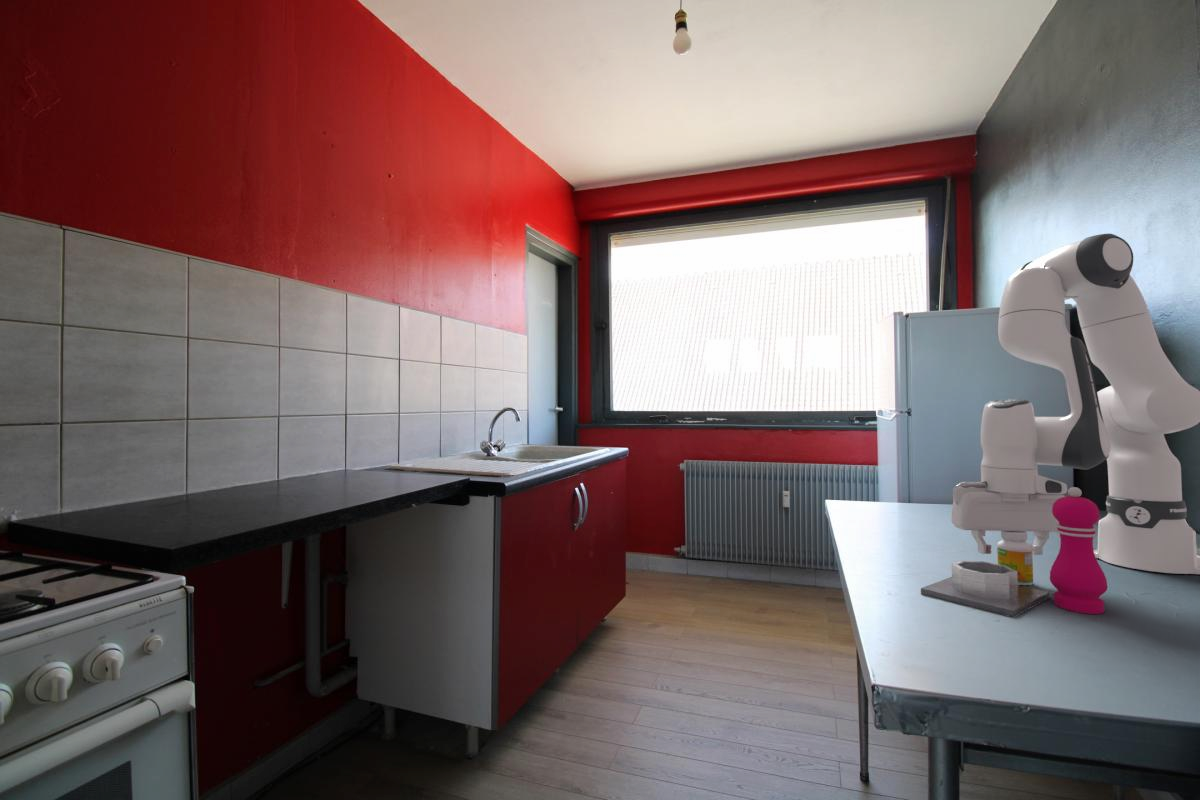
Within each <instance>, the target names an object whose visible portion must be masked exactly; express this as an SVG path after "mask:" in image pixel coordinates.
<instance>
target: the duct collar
mask: <svg viewBox="0 0 1200 800" xmlns="http://www.w3.org/2000/svg"><path fill="white" fill-rule="evenodd" d="M1050 593H1051V592H1050V591H1047V590H1042V589H1039V588H1038V589H1037V588H1031V587H1028V586H1020V585H1018V579H1017V571H1015V570H1013V569H1011V568H1009V567H1007V566H1004V565H999V564H998V563H995V562H988V561H984V560H983V561H982V560H981V561H980V560H958V561H956V562H953V563H951V577H950V576H949V577H948V578H944V579H942V580H939V581H936V582H933V583H932V584H931V583H930V584H929V585H925V586H923V587H921V588H920V595H925V596H926V597H927V596H928V597H932V598H935V599H941V600H943V601H946V602H947V601H949V602H951V603H955V604H960V605H965V606H968V607H971V608H974V609H975V608H976V609H979V610H984V611H988V612H992V613H995V614H999V615H1004V616H1007V617H1011V618H1015V617H1017V616H1018V614H1019V615H1020V614H1022V613H1024V612H1025V610H1026V611H1027V609H1028V608H1030V607H1032V606H1033V607H1035V606H1037V605H1039V604H1040V603H1039V602H1041V601H1043V600H1045V599H1046V600H1048V599H1050V598H1051V597H1050V596H1051V595H1050ZM1049 597H1050V598H1049ZM1047 598H1048V599H1047ZM1046 600H1045V601H1046ZM1043 602H1044V601H1043ZM1038 603H1039V604H1038ZM1041 603H1042V602H1041ZM1036 604H1037V605H1036ZM1034 605H1035V606H1034ZM1033 607H1032V608H1033ZM1030 609H1031V608H1030ZM1028 610H1029V609H1028ZM1023 611H1024V612H1023ZM1021 612H1022V613H1021ZM1016 615H1017V616H1016ZM1014 616H1015V617H1014Z"/></svg>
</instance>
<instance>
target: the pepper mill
mask: <svg viewBox="0 0 1200 800" xmlns="http://www.w3.org/2000/svg"><path fill="white" fill-rule="evenodd" d="M1082 494H1083V493H1082V490H1081V489H1080V488H1079V487H1075V486H1071V487H1070V488H1067V496H1066V495H1065V497H1062V498H1059V499H1058V500H1056V501H1055V502H1054V504H1053V507H1052V514H1053V516H1054V517H1055V518H1056V519H1057V520H1058V522H1059V524H1057V525H1056V526H1057V527H1058V528H1057V529H1058V530H1057V532H1056V533H1058V534H1059V539H1060V546H1059V547H1060V548H1059V550H1058V551H1059V552H1058V554H1057V556H1056V558H1055V560H1054V562H1053V564H1052V566H1051V568H1050V571H1049V581H1050V583H1051V585H1052V586H1053V587H1054V588H1055V589H1056V590H1057V591H1056V592H1054V594H1053V601H1054V605H1055V604H1056V605H1055V606H1057V607H1058V606H1059V607H1058V608H1060V607H1061V609H1063V608H1064V610H1066V609H1067V610H1066V611H1069V610H1070V612H1074V611H1075V612H1074V613H1079V612H1080V613H1079V614H1086V613H1088V615H1099V614H1100V615H1101V614H1103V613H1104V612H1105V600H1103V599H1102V598H1101V597H1102V595H1104V594H1105V593H1106V592H1107V591H1108V581H1107V577H1106V576H1105V573H1104V571H1103V569H1102V568H1101V565H1100V564H1099V562H1098V560H1097V558H1096V557H1095V554H1094V550H1095V549H1094V537H1097V534H1096V531H1097V528H1096V527H1094V525H1095V524H1096V523H1097V522H1099V520H1100V517H1101V515H1100V509H1099V507H1098V505H1097V504H1096V503H1095V502H1093V501H1092V500H1090V499H1089V498H1085V497H1082Z"/></svg>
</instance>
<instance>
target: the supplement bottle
mask: <svg viewBox="0 0 1200 800" xmlns="http://www.w3.org/2000/svg"><path fill="white" fill-rule="evenodd" d="M1000 533H1001V534H1000V536H1001V538H1002V540H1000V541H998V542H997V544H996V545H997V549H996V550H997V552H996V553H997V564H999V565H1004V566H1007V567H1009V568H1011V569H1013V570H1015V571H1017V579H1018V585H1019V586H1020V585H1029V586H1032V585H1033V584H1034V564H1033V554H1032V547H1031V545H1030V544H1031V543H1028V542H1026V541H1028V531H1000Z"/></svg>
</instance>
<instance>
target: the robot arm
mask: <svg viewBox="0 0 1200 800" xmlns="http://www.w3.org/2000/svg"><path fill="white" fill-rule="evenodd" d="M1133 265H1134V253H1133V250H1132V248H1131V246H1130V244H1129V243H1128V241H1126V240H1125V239H1124V238H1122V237H1120V236H1118V235H1116V234H1113V233H1100V234H1094V235H1091V236H1088V237H1085V238H1084V239H1082V240H1079V241H1075V242H1073V243H1070V244H1066V245H1064V246H1061V247H1058V248H1056V249H1054V250H1052V251H1051V252H1049V253H1047V254H1044V255H1043V256H1041V257H1039V258H1036V259H1035V260H1031V261H1028V262H1027V263H1025V264H1023V265H1022V266H1021V267H1019V268H1018V269H1017V270H1016V271H1014V273H1013V274H1012V275H1011V276H1010V277H1009V278H1008V279H1007V281H1006V284H1005V286H1004V289H1003V293H1002V296H1001V302H1000V305H999V311H998V312H999V313H998V321H997V322H998V324H997V326H998V327H997V334H998V341H999V344H1000V346H1001V347H1002V349H1004V350H1005V351H1006V352H1007V353H1008V354H1010V355H1011V356H1012V357H1013V356H1014V357H1015V358H1018V359H1020V360H1022V361H1025V362H1029V363H1031V364H1032V363H1033V364H1036V365H1041V366H1046V367H1048V368H1053V369H1055V370H1057V371H1059V372H1061V373H1062V374H1063V375H1062V376H1063V377H1064V380H1065V381H1064V382H1065V386H1066V391H1067V395H1068V402H1069V406H1070V413H1069V414H1068V415H1065V416H1035V411H1034V407H1033V403H1032V402H1031V401H1030V400H1026V399H1023V398H1022V399H1021V398H1004V399H994V400H991V401H988V402H986V403H985V404H984V407H983V411H982V417H981V423H980V446H981V449H982V460H981V463H980V481H962V482H960V483H958V484H957V485H955V486H954V487H953V489H952V499H953V501H952V502H953V503H952V507H951V523H952V525H953V526H954V527H955V528H957V529H960V530H961V531H971V532H970V534H971V536H972V537H973V539H974V540H975V542H976V543H977V552H978V553H979V554H981V555H990V554H991V555H992V545H991V544H990V543H989V544H988V543H987V542H986V540H985V539H984V537H986V531H987V532H989V531H990V532H993V531H994V532H997V531H999V532H1001V531H1025V532H1033V533H1032V534H1033V535H1034V536H1035V538H1034V540H1033V542H1032V543H1029V544H1030V545H1031V547H1032V556H1042V555H1043V554H1044V551H1043V550H1044V549H1043V547H1044V546H1045V544H1046V543H1047V542H1048V540H1049V539H1050V533H1058V532H1057V530H1058V529H1057V528H1058V527H1057V526H1056V525H1057V524H1059V522H1058V520H1057V519H1056V518H1055V517H1054V516H1053V514H1052V507H1053V504H1054V502H1055V501H1056V500H1058V499H1059V498H1062V497H1066V495H1064V494H1067V493H1068V485H1067V483H1065V482H1062V481H1060V480H1056V479H1052V478H1049V477H1046V476H1043V475H1040V474H1039V471H1038V465H1039V466H1040V465H1043V466H1056V467H1057V466H1059V467H1064V468H1072V469H1079V470H1084V471H1085V470H1087V471H1088V470H1090V469H1092V468H1094V467H1097V466H1098V465H1100V464H1102V463H1104V462H1106V464H1107V475H1108V476H1107V478H1108V495H1106V501H1105V505H1106V512H1107V515H1105V516H1104V517H1102V518H1101V519H1099V520H1098V521H1097V522H1098V524H1097V525H1098V526H1097V527H1098V528H1097V549H1093V550H1094V554H1095V557H1096V559H1098V558H1099V560H1102V561H1104V562H1106V563H1109V564H1111V565H1112V564H1113V565H1116V566H1120V567H1125V568H1128V569H1133V570H1135V569H1136V570H1141V571H1147V572H1156V573H1163V574H1164V573H1165V574H1175V575H1177V574H1178V575H1179V574H1180V575H1182V574H1184V575H1189V574H1191V575H1200V548H1198V547H1197V533H1196V531H1195V530H1194V529H1193V528H1192V527H1191V526H1190V525H1189V524H1188V523H1187V521H1186V519H1187V517H1188V515H1187V511H1188V510H1187V506H1186V501H1185V500H1183V489H1182V487H1183V484H1182V482H1183V481H1182V466H1181V462H1180V461H1179V459H1178V458H1177V457H1176V456H1175V455H1174V454H1173V453H1172V451H1171V449H1170V448H1169V445H1168V443H1167V440H1166V437H1165V435H1166V434H1173V433H1176V432H1181V431H1184V430H1188V429H1190V428H1193V427H1195V426H1197V425H1199V423H1200V390H1199V389H1197V388H1196V387H1194V386H1192V385H1191V384H1190V383H1188V382H1187V381H1186V380H1185V379H1184V378H1183V377H1182V376H1181V374H1180V373H1179V372H1178V371H1177V370H1176V368H1175V367H1174V365H1173V364H1172V362H1171V361H1170V360H1169V358H1168V356H1167V354H1165V352H1164V350H1163V348H1162V346H1161V343H1160V341H1159V337H1158V335H1157V332H1156V330H1155V327H1154V323H1153V320H1152V317H1151V314H1150V310H1149V309H1148V304H1147V302H1146V301H1145V298H1144V296H1143V294H1142V292H1141V289H1140V288H1139V286H1138V284H1137V282H1136V281H1135V280H1134V278H1133V277H1132V276H1131V273H1132V272H1131V271H1133V270H1132V269H1133ZM1066 300H1073V301H1074V302H1075V303H1076V304H1075V305H1076V311H1077V317H1078V321H1079V326H1080V329H1081V332H1082V335H1083V339H1084V342H1085V344H1084V342H1083V341H1082V339H1080V338H1079V337H1076V336H1073V335H1071V333H1070V332H1069V331H1068V328H1067V325H1066V302H1065V301H1066ZM1091 363H1092V364H1093V365H1094V366H1095V367H1097V368H1098V369H1099V370H1100V371H1101V372H1102V373H1103V375H1104V376H1105V378H1106V380H1108V382H1109V384H1110V385H1109V386H1107V387H1104V388H1102V389H1100V390H1099V391H1098V390H1097V386H1096V380H1095V377H1094V375H1095V374H1094V372H1093V367H1092V364H1091Z"/></svg>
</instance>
